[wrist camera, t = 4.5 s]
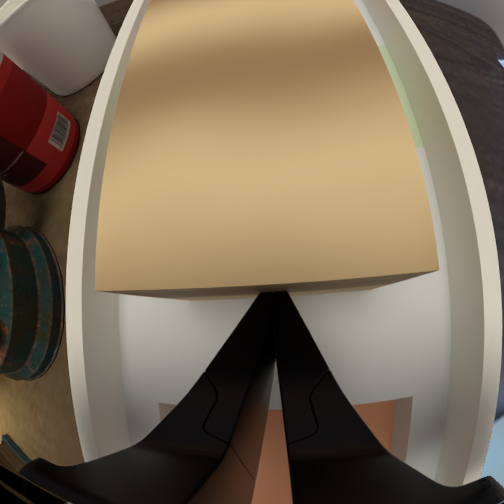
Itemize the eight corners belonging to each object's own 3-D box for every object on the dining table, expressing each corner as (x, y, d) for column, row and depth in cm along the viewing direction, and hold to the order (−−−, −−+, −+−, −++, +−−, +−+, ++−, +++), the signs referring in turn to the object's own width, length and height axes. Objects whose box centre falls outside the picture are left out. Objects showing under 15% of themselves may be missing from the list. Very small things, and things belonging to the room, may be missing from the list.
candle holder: (45, 77, 24) (-14, 20, 12) (113, 23, 24) (65, -46, 12) (55, 120, 22) (-27, 53, 10) (138, 53, 21) (76, -39, 10)
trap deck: (417, 514, 12) (443, 564, 6) (158, 516, 14) (120, 561, 8) (360, 9, 19) (365, -41, 13) (164, 30, 22) (141, -14, 16)
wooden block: (369, 289, 12) (439, 270, 6) (190, 300, 14) (94, 290, 7) (332, 73, 15) (337, -27, 8) (195, 88, 16) (149, 0, 9)
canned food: (67, 102, 22) (-3, 37, 11) (94, 144, 20) (0, 65, 9) (17, 161, 22) (-61, 115, 11) (35, 214, 20) (-68, 169, 9)
